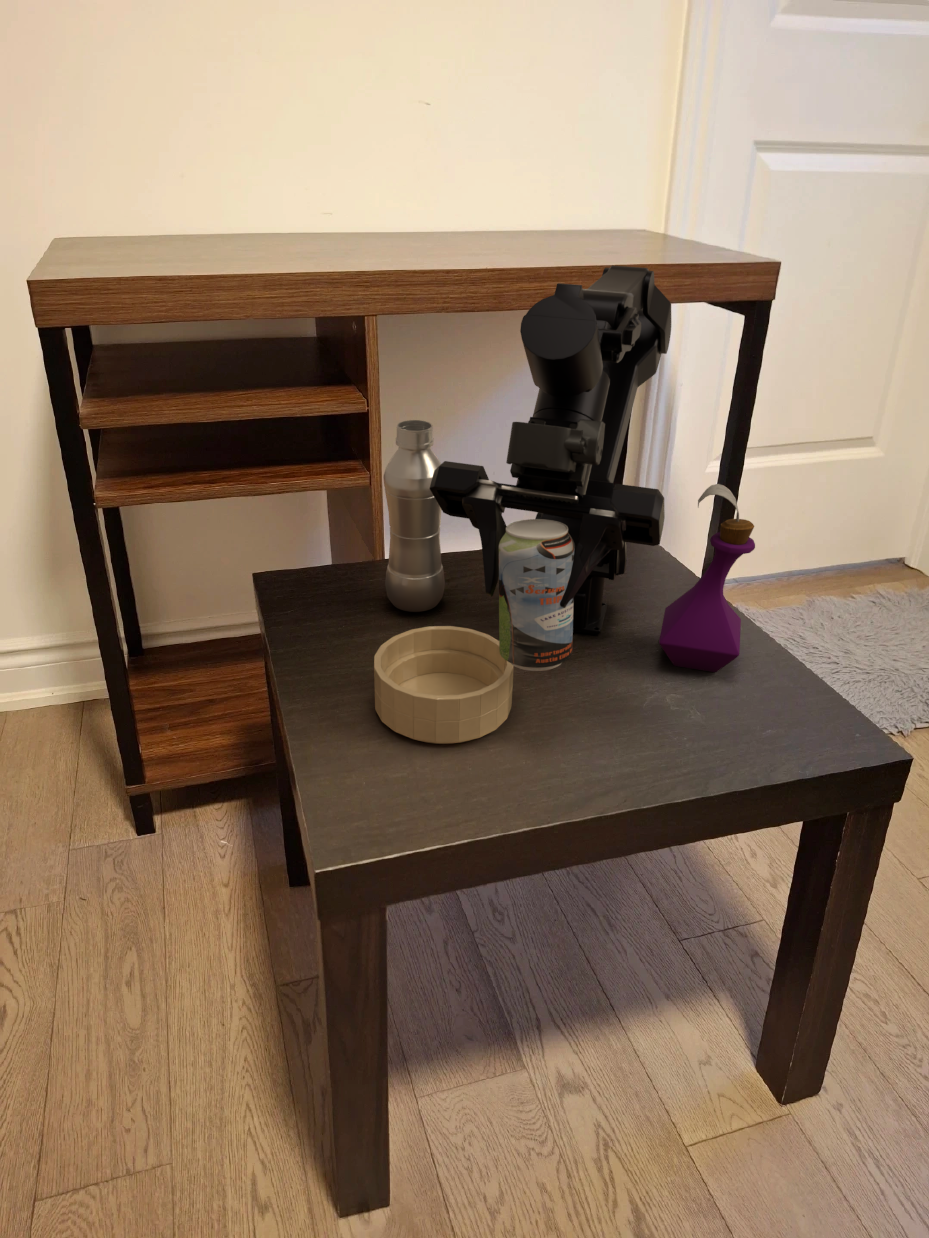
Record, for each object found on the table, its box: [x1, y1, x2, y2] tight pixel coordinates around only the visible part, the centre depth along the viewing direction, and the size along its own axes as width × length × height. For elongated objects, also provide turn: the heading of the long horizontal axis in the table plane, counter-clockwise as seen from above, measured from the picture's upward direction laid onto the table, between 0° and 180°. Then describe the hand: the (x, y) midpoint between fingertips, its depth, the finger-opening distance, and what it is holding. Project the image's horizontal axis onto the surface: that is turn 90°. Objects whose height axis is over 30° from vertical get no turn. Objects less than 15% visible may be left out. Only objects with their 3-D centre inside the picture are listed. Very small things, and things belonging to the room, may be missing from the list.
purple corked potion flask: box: [658, 483, 756, 673], centre depth 89 cm, size 8×8×18 cm
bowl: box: [373, 625, 515, 745], centre depth 84 cm, size 12×12×5 cm
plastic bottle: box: [383, 419, 446, 613], centre depth 97 cm, size 6×7×20 cm
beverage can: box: [498, 518, 575, 672], centre depth 76 cm, size 6×7×12 cm
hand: (524, 601), depth 75 cm, fingers closed on beverage can, 6 cm apart
